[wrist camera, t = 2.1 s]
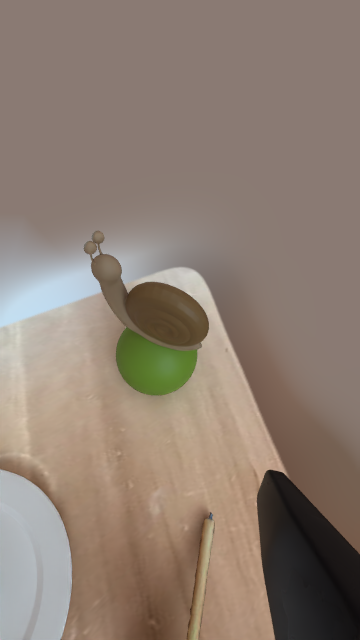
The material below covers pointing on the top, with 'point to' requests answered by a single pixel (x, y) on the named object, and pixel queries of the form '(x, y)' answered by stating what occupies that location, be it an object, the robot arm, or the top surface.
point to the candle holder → (32, 563)
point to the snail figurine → (151, 327)
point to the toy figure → (201, 579)
